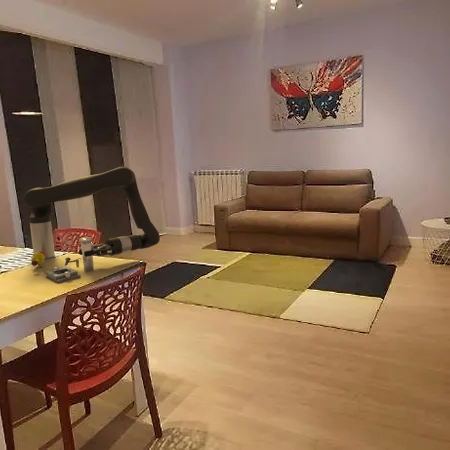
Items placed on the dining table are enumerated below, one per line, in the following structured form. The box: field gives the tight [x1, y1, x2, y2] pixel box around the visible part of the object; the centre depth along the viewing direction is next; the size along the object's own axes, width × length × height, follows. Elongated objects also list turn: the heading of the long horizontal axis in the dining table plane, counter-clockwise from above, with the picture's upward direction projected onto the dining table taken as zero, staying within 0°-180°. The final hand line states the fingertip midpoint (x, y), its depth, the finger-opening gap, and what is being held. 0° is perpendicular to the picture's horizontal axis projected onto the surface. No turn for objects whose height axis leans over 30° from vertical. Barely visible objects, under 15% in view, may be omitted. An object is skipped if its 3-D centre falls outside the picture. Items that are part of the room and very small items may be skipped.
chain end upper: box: [44, 265, 79, 279], centre depth 165 cm, size 11×9×3 cm
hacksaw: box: [64, 257, 83, 269], centre depth 182 cm, size 24×10×2 cm, turn 19°
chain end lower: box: [46, 271, 81, 284], centre depth 163 cm, size 11×9×3 cm
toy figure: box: [30, 251, 45, 269], centre depth 179 cm, size 18×6×7 cm, turn 13°
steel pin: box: [78, 236, 95, 273], centre depth 171 cm, size 5×5×14 cm
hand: (82, 253), depth 169 cm, fingers closed on steel pin, 4 cm apart
